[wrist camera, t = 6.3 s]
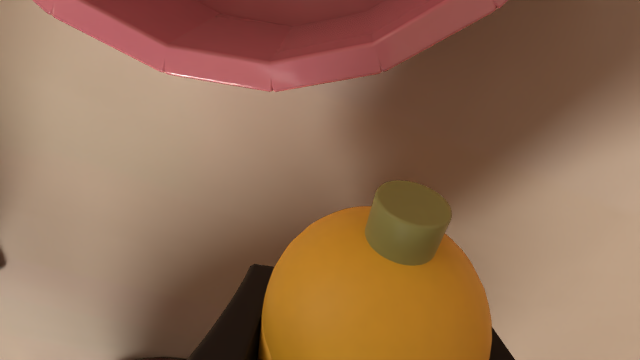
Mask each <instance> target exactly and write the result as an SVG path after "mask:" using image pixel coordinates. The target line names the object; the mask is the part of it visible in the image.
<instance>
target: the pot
mask: <svg viewBox="0 0 640 360" xmlns="http://www.w3.org/2000/svg"><path fill="white" fill-rule="evenodd" d="M33 1H34V2H35V3H36V4H37V5H39V6H40V7H41V8H42V9H43V10H44V11H45V12H47V13H48V14H50V15H52V16H53V17H54V18H56V19H58V20H60V21H62V22H64V23H66V24H68V25H70V26H72V27H74V28H76V29H78V30H80V31H82V32H84V33H86V34H88V35H90V36H91V37H93V38H95V39H97V40H99V41H101V42H103V43H105V44H107V45H109V46H111V47H113V48H115V49H117V50H119V51H121V52H123V53H125V54H127V55H129V56H131V57H133V58H134V59H136V60H138V61H140V62H142V63H144V64H146V65H148V66H150V67H152V68H154V69H156V70H158V71H160V72H165V73H166V74H169V75H174V76H180V77H186V78H192V79H198V80H204V81H210V82H216V83H222V84H227V85H233V86H239V87H245V88H251V89H257V90H263V91H269V92H271V91H273V90H274V91H275V92H278V91H284V90H290V89H296V88H301V87H307V86H313V85H318V84H324V83H330V82H336V81H341V80H347V79H353V78H358V77H364V76H370V75H376V74H380V73H381V72H382V71H383V72H385V71H388V70H389V69H391V68H393V67H395V66H397V65H399V64H400V63H402V62H404V61H406V60H408V59H409V58H411V57H413V56H415V55H417V54H418V53H420V52H422V51H424V50H426V49H428V48H429V47H431V46H433V45H435V44H437V43H438V42H440V41H442V40H444V39H446V38H448V37H449V36H451V35H453V34H455V33H457V32H458V31H460V30H462V29H464V28H466V27H467V26H469V25H471V24H473V23H475V22H477V21H478V20H480V19H482V18H484V17H486V16H487V15H489V14H491V13H493V12H494V11H495V10H496V8H498V9H499V8H500V7H502V6H503V5H504V4H505V3H506V2H507V1H508V0H33Z"/></svg>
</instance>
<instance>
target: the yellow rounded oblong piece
mask: <svg viewBox="0 0 640 360" xmlns="http://www.w3.org/2000/svg"><path fill="white" fill-rule="evenodd" d="M451 218H452V212H451V208H450V206H449V204H448V202H447V201H446V200H445V199H444V198H443V197H442V196H441V195H440V194H438V193H437V192H436V191H434V190H432V189H430V188H428V187H426V186H424V185H421V184H418V183H415V182H411V181H403V180H395V181H389V182H386V183H384V184H382V185H381V186H380V187H379V188H378V189H377V191H376V193H375V196H374V200H373V203H372V206H361V207H352V208H346V209H343V210H340V211H337V212H334V213H332V214H330V215H327V216H325V217H323V218H321V219H319V220H317V221H316V222H314V223H312V224H310V225H309V226H308V227H307V228H306V229H305V230H304V231H303V232H302V233H300V234H299V235H298V236H297V237H296V238H295V239H294V240H293V241H292V242H291V243H290V244H289V245H288V247H287V248H286V250H285V251H284V253H283V254H282V255H281V257H280V259H279V260H278V262H277V264H276V265H275V267H274V269H273V272H272V274H271V277H270V280H269V282H268V286H267V289H266V293H265V297H264V303H263V309H262V318H261V328H260V338H259V348H258V357H257V360H489V358H490V351H491V344H492V321H491V316H490V310H489V304H488V301H487V297H486V293H485V289H484V287H483V285H482V283H481V281H480V279H479V277H478V275H477V273H476V271H475V269H474V267H473V265H472V263H471V262H470V260H469V259H468V257H467V256H466V255H465V253H464V252H463V251H462V249H461V248H460V247H459V246H458V245H457V244H456V243H455V242H454V241H453V240H452V239H451V238H450V237H448V236H447V235H446V234H445V232H446V229H447V227H448V225H449V223H450V221H451Z"/></svg>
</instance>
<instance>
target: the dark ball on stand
mask: <svg viewBox="0 0 640 360" xmlns="http://www.w3.org/2000/svg"><path fill="white" fill-rule="evenodd" d="M138 360H183V359H172V358H143V359H138Z"/></svg>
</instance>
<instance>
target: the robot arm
mask: <svg viewBox="0 0 640 360" xmlns="http://www.w3.org/2000/svg"><path fill="white" fill-rule="evenodd" d="M273 269H274V267H270V266H264V265H258V264H254V265H252V266H250V268H249V270H248V272H247V274H246V276H245V278H244V280H243V282H242V283H241V285H240V287H239V288H238V290H237V292H236V293H235V295H234V297H233V298H232V300H231V301H230V303H229V304H228V306H227V307H226V309H225V310H224V312H223V313H222V314H221V316H220V317H219V319H218V320H217V322H216V323H215V324H214V326H213V327H212V329H211V330H210V331H209V333H208V334H207V335H206V337H205V338H204V339H203V340H202V342H201V343H200V344H199V346H198V347H197V348H196V349H195V351H194V352H193V353H192V355H191V356H190V357H189V358H188V360H257V357H258V348H259V338H260V328H261V318H262V309H263V303H264V297H265V293H266V289H267V286H268V282H269V280H270V277H271V274H272V272H273ZM489 360H515V359H514V358H513V356H512V355H511V353H510V352H509V351H508V349H507V348H506V346H505V345H504V343H503V342H502V341H501V339H500V338H499V336H498V335H497V333H496V332H495V331H494V329H493V328H492V344H491V351H490V358H489Z"/></svg>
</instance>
